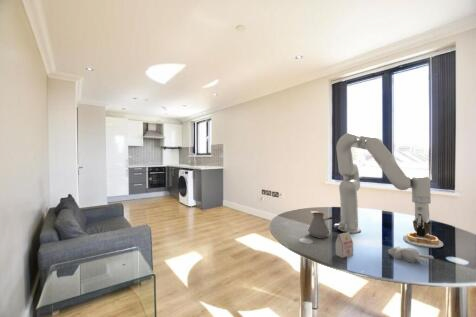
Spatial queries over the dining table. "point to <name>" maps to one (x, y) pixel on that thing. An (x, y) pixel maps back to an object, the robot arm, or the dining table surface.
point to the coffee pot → (319, 225)
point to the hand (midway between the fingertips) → (422, 233)
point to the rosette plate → (423, 240)
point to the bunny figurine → (408, 254)
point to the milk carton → (344, 245)
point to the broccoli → (426, 226)
